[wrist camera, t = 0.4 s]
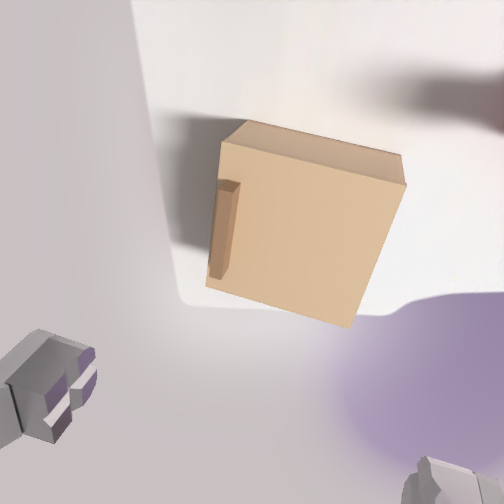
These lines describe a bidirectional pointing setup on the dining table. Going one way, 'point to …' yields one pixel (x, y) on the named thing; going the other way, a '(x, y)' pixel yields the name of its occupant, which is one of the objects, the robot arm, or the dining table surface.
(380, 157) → the box
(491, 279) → the dining table surface
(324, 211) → the lid
